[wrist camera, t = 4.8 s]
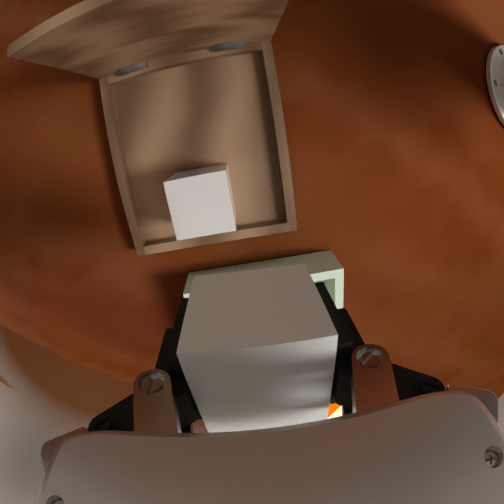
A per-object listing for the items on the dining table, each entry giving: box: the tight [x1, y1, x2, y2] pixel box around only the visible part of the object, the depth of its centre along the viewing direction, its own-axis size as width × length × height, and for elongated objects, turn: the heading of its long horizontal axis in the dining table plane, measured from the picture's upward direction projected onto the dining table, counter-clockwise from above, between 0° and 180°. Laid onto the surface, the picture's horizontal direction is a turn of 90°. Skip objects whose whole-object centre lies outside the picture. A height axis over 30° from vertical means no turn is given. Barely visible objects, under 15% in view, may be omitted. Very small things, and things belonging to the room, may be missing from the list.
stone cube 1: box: [176, 264, 338, 433], centre depth 11 cm, size 4×4×4 cm
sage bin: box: [183, 250, 344, 309], centre depth 29 cm, size 14×12×4 cm
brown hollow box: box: [7, 0, 297, 256], centre depth 17 cm, size 15×17×14 cm
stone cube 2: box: [163, 163, 236, 241], centre depth 22 cm, size 4×4×4 cm
